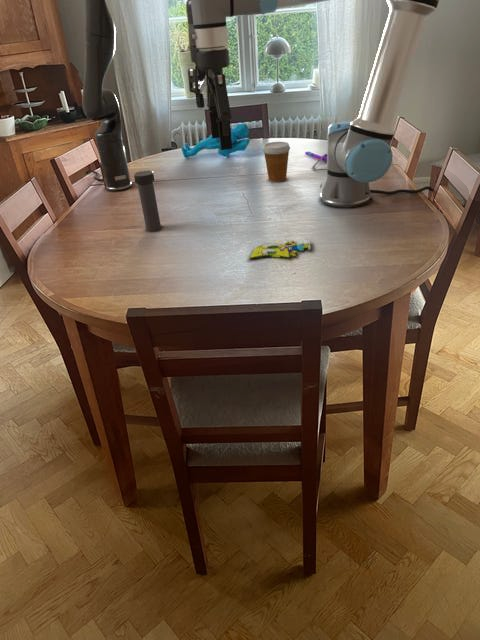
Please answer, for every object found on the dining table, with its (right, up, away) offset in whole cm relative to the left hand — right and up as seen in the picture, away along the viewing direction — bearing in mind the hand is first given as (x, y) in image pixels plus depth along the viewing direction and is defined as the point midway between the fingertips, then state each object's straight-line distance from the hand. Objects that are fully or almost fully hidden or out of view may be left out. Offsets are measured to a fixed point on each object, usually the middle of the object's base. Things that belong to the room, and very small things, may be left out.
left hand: (209, 104), depth 142 cm
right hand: (+4, -18, -19) cm, 27 cm away
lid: (-18, -24, -9) cm, 31 cm away
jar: (-16, -37, -1) cm, 40 cm away
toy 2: (+20, -47, -20) cm, 54 cm away
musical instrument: (+41, -4, +43) cm, 59 cm away
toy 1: (-1, +7, +65) cm, 65 cm away
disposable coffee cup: (+23, -14, +30) cm, 40 cm away
